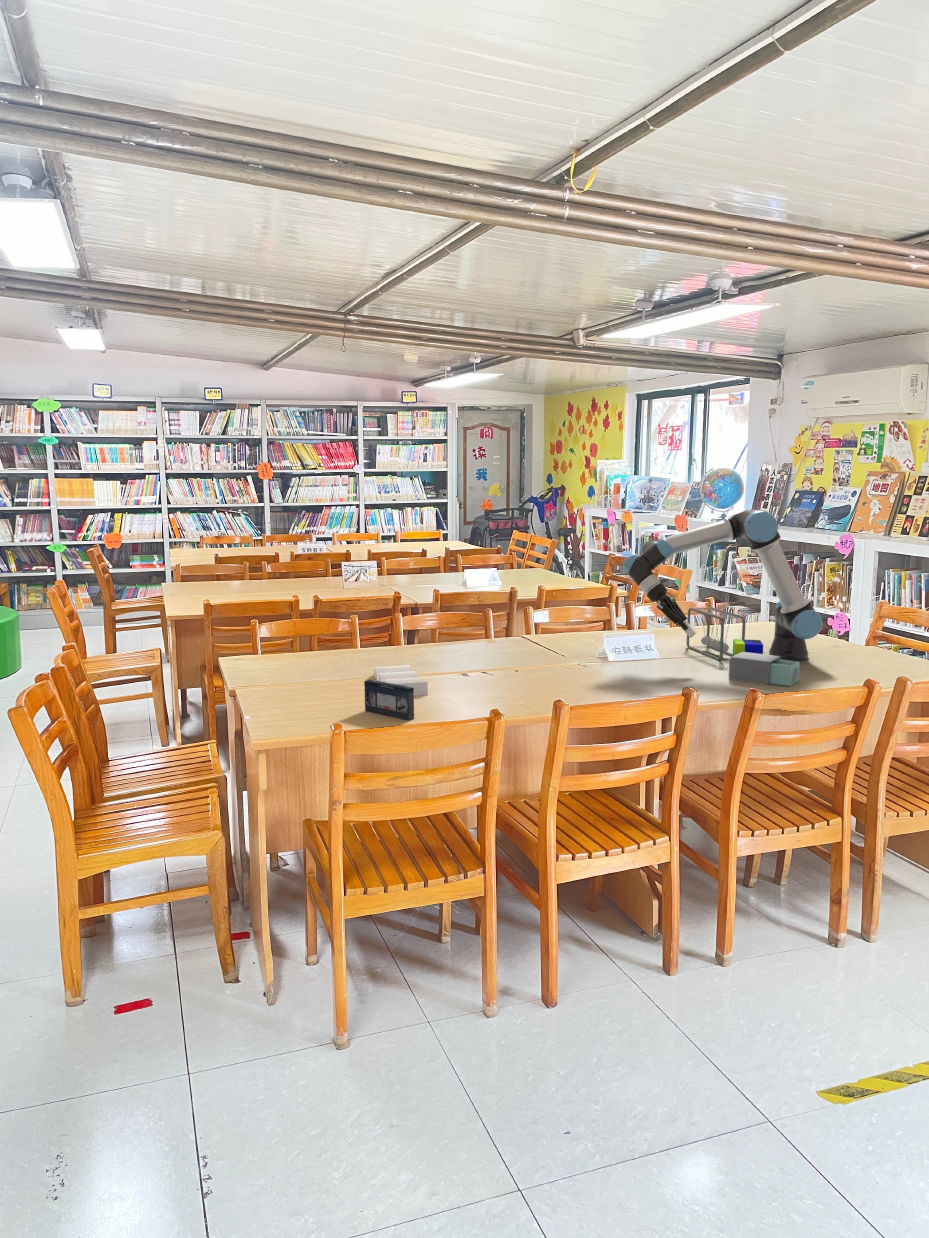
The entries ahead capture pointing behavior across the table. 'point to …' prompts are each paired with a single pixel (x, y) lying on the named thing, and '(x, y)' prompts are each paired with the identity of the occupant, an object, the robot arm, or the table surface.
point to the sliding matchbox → (782, 672)
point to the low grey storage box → (751, 667)
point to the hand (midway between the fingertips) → (693, 635)
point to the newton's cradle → (714, 643)
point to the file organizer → (402, 678)
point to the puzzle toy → (747, 646)
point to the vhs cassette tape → (389, 699)
